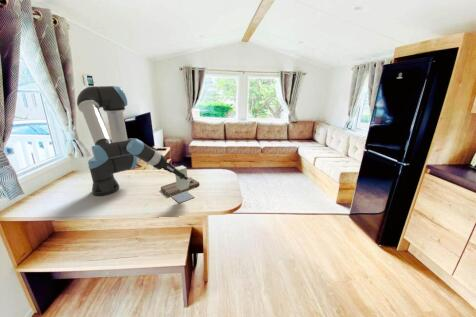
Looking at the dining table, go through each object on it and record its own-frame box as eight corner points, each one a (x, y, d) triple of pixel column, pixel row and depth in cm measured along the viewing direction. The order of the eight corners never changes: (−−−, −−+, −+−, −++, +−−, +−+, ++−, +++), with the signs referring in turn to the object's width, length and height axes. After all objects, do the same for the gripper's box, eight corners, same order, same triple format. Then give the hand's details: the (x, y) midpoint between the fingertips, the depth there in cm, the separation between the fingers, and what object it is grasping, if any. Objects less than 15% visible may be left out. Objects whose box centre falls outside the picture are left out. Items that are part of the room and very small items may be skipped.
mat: (171, 197, 126) (171, 196, 126) (186, 191, 133) (186, 191, 133) (179, 203, 119) (179, 202, 119) (194, 197, 126) (194, 196, 125)
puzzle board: (161, 189, 136) (160, 186, 135) (190, 179, 149) (190, 177, 149) (168, 196, 127) (168, 193, 127) (199, 185, 141) (199, 182, 140)
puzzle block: (177, 187, 123) (174, 167, 119) (184, 185, 126) (182, 165, 122) (180, 190, 120) (178, 169, 115) (188, 187, 123) (186, 167, 119)
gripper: (146, 161, 114) (177, 180, 130) (159, 171, 101) (191, 190, 117) (154, 150, 115) (184, 170, 131) (168, 158, 103) (199, 178, 118)
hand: (187, 179), depth 124 cm, fingers closed on puzzle block, 5 cm apart
